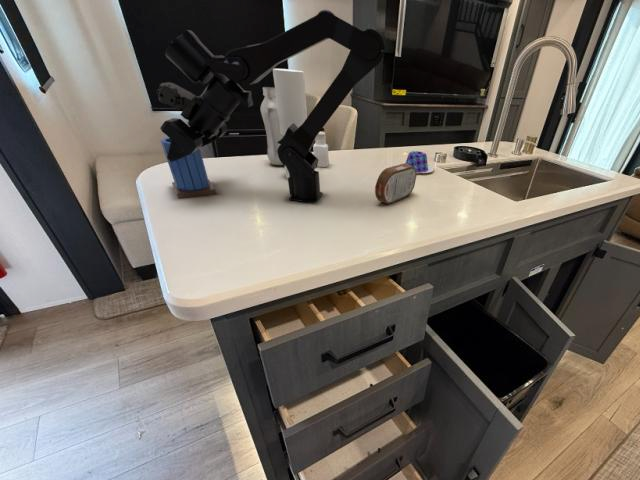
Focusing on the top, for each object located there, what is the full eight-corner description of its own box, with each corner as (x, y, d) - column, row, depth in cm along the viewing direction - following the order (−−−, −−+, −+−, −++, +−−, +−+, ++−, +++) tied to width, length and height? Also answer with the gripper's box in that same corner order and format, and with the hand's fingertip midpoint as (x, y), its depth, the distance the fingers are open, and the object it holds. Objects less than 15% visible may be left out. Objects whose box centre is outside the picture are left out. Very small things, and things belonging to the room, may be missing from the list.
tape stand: (209, 183, 82) (203, 160, 79) (216, 194, 77) (210, 170, 74) (173, 187, 78) (165, 163, 75) (178, 198, 73) (169, 173, 70)
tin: (407, 191, 91) (410, 159, 86) (416, 194, 89) (420, 162, 84) (373, 205, 80) (374, 170, 75) (383, 208, 79) (385, 173, 74)
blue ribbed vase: (210, 180, 80) (199, 136, 74) (207, 190, 75) (194, 144, 69) (179, 181, 78) (164, 136, 72) (173, 190, 73) (157, 143, 67)
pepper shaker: (326, 168, 101) (325, 134, 95) (314, 166, 101) (311, 133, 95) (329, 164, 104) (327, 132, 99) (316, 163, 104) (314, 130, 98)
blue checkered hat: (416, 162, 115) (418, 147, 112) (441, 172, 109) (443, 155, 106) (391, 167, 108) (392, 150, 105) (416, 177, 102) (418, 159, 99)
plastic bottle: (277, 169, 96) (267, 89, 84) (264, 163, 99) (251, 86, 87) (295, 165, 100) (287, 89, 88) (281, 160, 103) (272, 86, 91)
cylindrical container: (317, 177, 94) (310, 72, 78) (298, 182, 89) (287, 71, 73) (299, 171, 96) (289, 69, 81) (280, 176, 91) (266, 68, 76)
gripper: (199, 65, 70) (162, 118, 76) (153, 69, 56) (112, 134, 61) (243, 110, 76) (207, 156, 82) (213, 124, 61) (170, 179, 67)
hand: (177, 155), depth 73 cm, fingers closed on blue ribbed vase, 7 cm apart
